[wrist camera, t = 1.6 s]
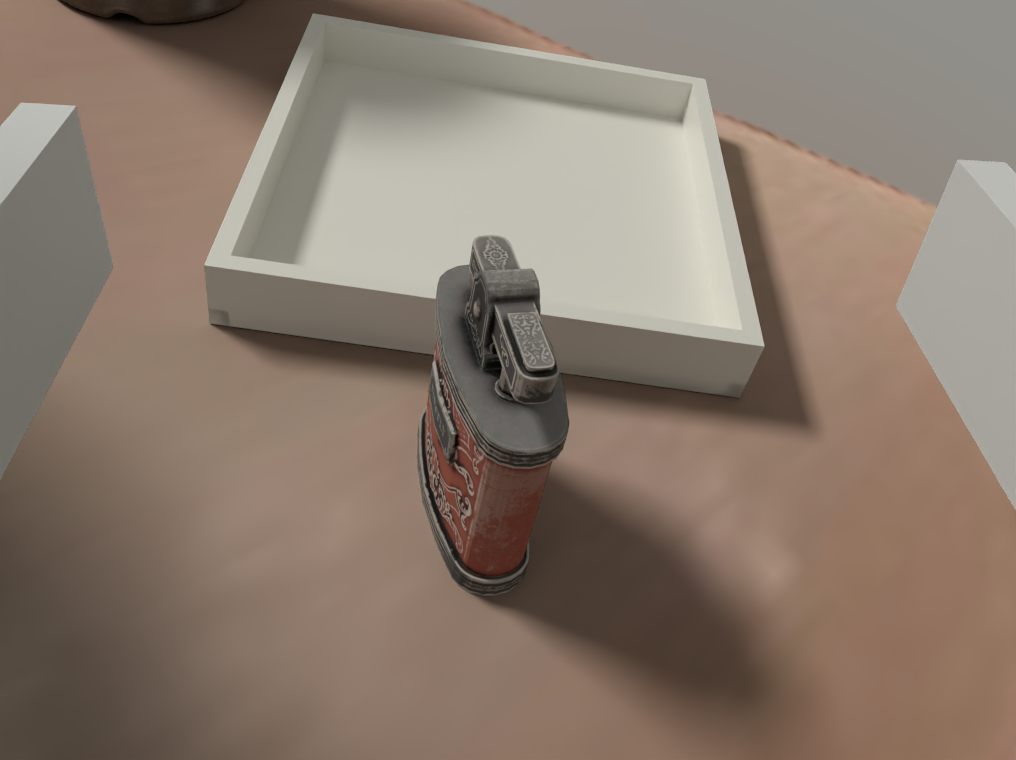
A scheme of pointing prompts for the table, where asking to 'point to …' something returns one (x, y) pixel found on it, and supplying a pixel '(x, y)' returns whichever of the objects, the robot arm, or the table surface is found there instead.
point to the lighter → (489, 418)
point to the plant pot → (157, 9)
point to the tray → (490, 204)
